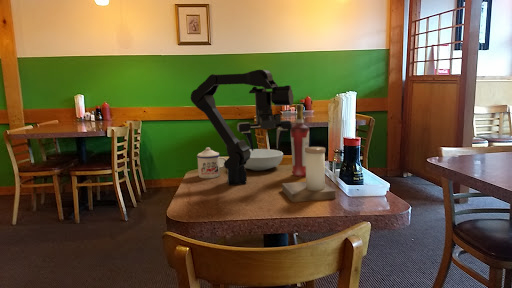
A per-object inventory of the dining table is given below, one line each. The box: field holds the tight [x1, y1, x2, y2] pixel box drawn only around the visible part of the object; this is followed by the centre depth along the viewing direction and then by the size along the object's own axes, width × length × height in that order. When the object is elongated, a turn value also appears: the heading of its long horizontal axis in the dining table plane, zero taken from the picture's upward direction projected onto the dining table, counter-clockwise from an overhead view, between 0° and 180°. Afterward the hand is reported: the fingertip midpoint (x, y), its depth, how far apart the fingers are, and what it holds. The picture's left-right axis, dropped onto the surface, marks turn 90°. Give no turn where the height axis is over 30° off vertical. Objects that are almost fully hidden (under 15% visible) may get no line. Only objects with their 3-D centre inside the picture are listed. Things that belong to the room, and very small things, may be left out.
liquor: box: [289, 104, 310, 178], centre depth 144 cm, size 7×7×28 cm
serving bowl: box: [244, 148, 284, 171], centre depth 161 cm, size 21×21×7 cm
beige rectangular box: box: [281, 181, 336, 203], centre depth 121 cm, size 14×13×2 cm
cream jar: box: [305, 146, 326, 191], centre depth 118 cm, size 6×6×13 cm
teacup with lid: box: [196, 147, 227, 179], centre depth 150 cm, size 12×9×12 cm
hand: (265, 149), depth 132 cm, fingers open, 9 cm apart
